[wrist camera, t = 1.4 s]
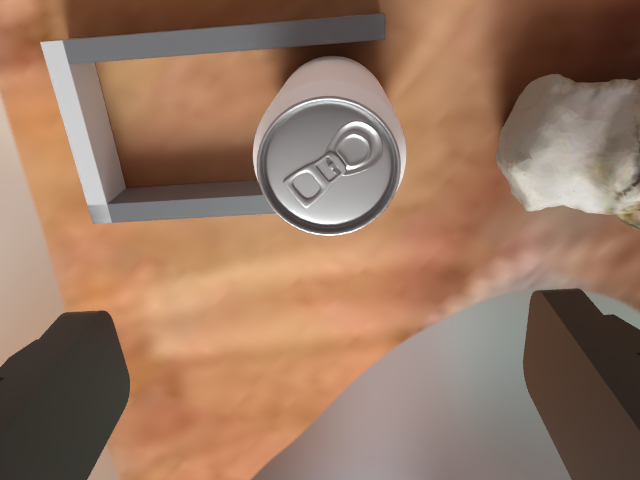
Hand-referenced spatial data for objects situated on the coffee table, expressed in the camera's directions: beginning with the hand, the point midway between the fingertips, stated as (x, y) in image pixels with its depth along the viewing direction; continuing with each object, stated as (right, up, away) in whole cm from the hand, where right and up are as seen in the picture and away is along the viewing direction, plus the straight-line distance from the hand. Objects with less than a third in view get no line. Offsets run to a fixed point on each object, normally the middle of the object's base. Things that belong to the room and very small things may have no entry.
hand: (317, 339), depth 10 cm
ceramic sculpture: (+17, +9, +21) cm, 28 cm away
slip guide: (-5, +9, +21) cm, 24 cm away
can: (+1, +10, +21) cm, 23 cm away
